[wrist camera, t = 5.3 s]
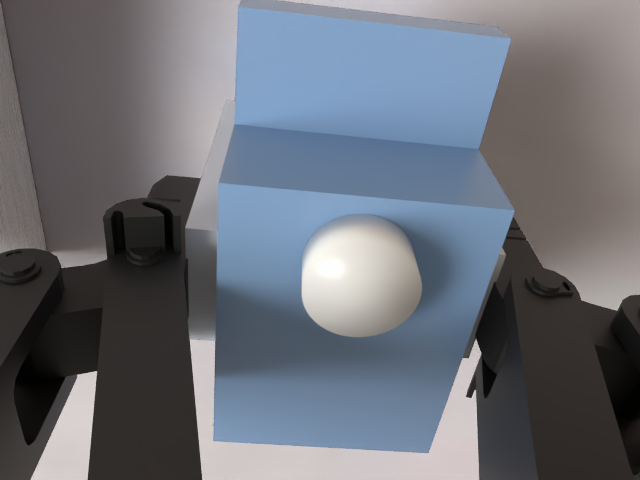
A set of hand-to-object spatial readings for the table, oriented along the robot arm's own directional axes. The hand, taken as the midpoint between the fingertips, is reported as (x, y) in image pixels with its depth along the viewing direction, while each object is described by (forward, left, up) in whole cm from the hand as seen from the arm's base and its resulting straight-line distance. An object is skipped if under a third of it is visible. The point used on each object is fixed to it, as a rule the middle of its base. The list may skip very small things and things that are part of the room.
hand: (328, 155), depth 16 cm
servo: (0, 0, 0) cm, 0 cm away
